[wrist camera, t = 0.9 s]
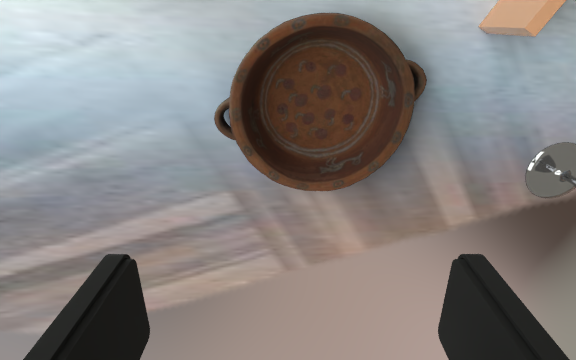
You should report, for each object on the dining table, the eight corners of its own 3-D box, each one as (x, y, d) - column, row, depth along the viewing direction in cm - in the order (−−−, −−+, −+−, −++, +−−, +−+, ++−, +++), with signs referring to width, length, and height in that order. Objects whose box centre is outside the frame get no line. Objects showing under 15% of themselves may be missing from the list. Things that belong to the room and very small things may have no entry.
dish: (425, 152, 42) (441, 168, 38) (243, 192, 45) (238, 211, 40) (409, -13, 36) (427, -18, 31) (195, 44, 38) (182, 47, 33)
